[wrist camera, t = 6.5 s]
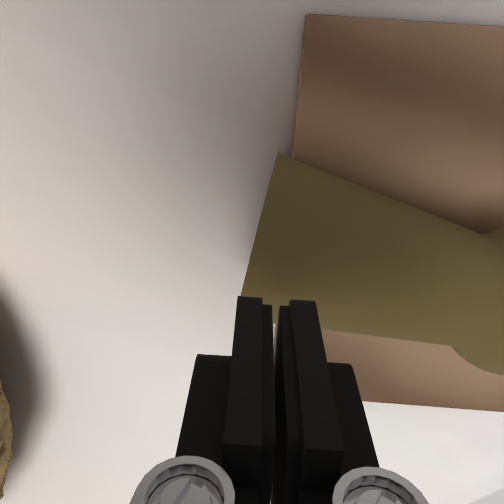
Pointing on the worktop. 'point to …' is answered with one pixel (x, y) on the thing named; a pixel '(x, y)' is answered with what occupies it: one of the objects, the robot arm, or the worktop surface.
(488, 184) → the walnut board
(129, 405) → the worktop surface
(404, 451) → the worktop surface
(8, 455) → the sponge
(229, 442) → the robot arm
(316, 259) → the cork
